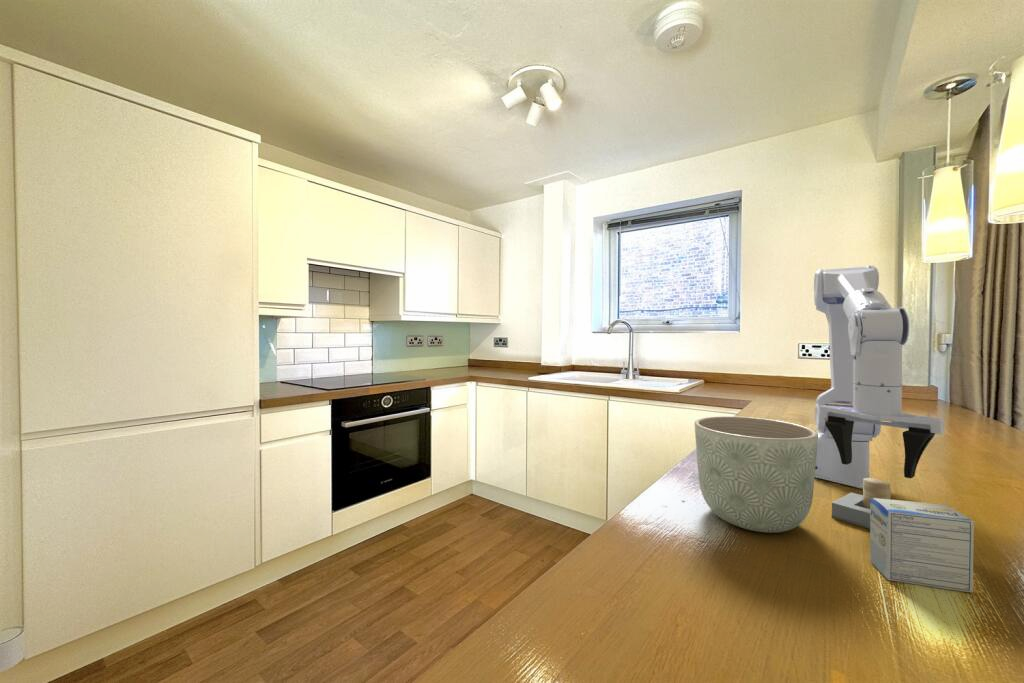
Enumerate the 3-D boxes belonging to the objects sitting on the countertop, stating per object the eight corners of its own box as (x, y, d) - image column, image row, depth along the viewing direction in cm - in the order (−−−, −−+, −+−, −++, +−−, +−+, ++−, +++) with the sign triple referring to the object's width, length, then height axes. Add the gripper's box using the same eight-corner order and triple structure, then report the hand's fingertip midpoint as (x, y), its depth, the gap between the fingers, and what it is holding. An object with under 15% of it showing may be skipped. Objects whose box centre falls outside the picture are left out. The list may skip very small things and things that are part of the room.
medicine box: (947, 573, 50) (947, 504, 50) (974, 595, 45) (975, 519, 45) (868, 562, 52) (869, 496, 52) (888, 581, 48) (888, 510, 48)
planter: (697, 492, 76) (697, 412, 76) (807, 510, 68) (807, 421, 68) (690, 530, 61) (690, 431, 61) (830, 559, 53) (830, 444, 53)
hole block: (831, 517, 65) (831, 502, 65) (850, 506, 69) (851, 492, 69) (907, 540, 58) (907, 524, 58) (923, 526, 62) (923, 511, 62)
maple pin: (859, 517, 64) (859, 480, 64) (867, 513, 66) (867, 476, 66) (886, 525, 61) (886, 486, 61) (893, 520, 63) (893, 482, 63)
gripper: (812, 382, 67) (812, 462, 68) (935, 391, 55) (934, 489, 55) (829, 379, 71) (829, 455, 71) (948, 388, 59) (947, 479, 59)
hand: (876, 469), depth 64 cm, fingers open, 7 cm apart
